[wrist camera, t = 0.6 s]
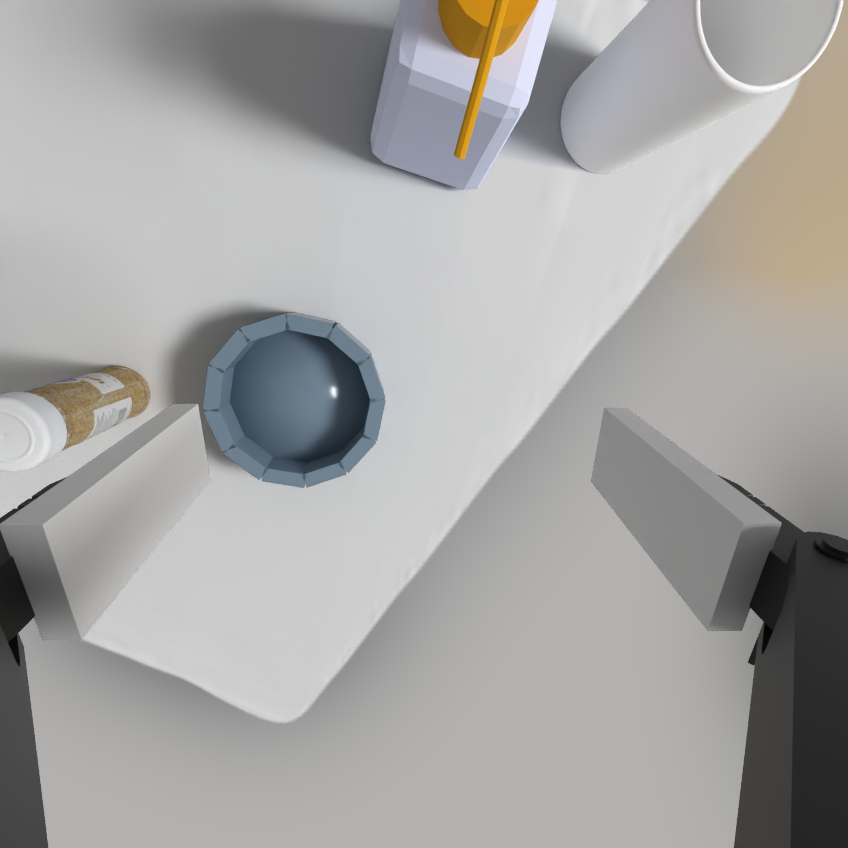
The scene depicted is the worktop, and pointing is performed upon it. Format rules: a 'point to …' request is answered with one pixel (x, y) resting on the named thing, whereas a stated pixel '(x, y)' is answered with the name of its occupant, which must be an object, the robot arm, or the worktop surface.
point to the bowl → (294, 399)
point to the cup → (687, 73)
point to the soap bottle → (457, 84)
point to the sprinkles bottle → (66, 414)
